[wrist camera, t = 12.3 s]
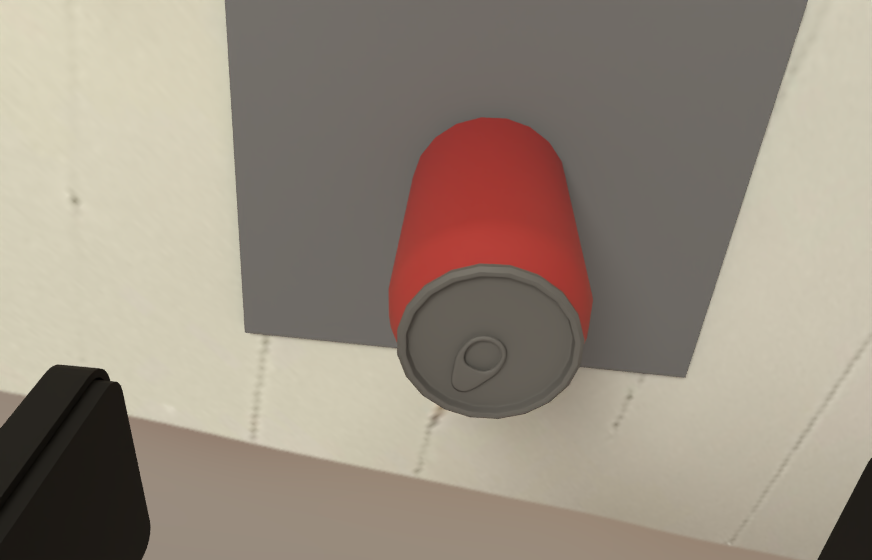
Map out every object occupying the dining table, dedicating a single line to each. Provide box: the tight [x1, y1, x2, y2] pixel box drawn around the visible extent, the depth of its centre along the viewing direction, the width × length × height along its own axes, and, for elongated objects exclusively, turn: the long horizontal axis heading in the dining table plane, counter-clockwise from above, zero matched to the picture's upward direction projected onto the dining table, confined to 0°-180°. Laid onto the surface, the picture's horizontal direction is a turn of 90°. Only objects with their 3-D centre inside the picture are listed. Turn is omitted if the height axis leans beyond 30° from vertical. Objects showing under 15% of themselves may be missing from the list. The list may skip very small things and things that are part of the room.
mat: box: [225, 0, 808, 377], centre depth 33 cm, size 22×18×1 cm
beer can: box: [389, 117, 593, 419], centre depth 27 cm, size 7×7×12 cm
